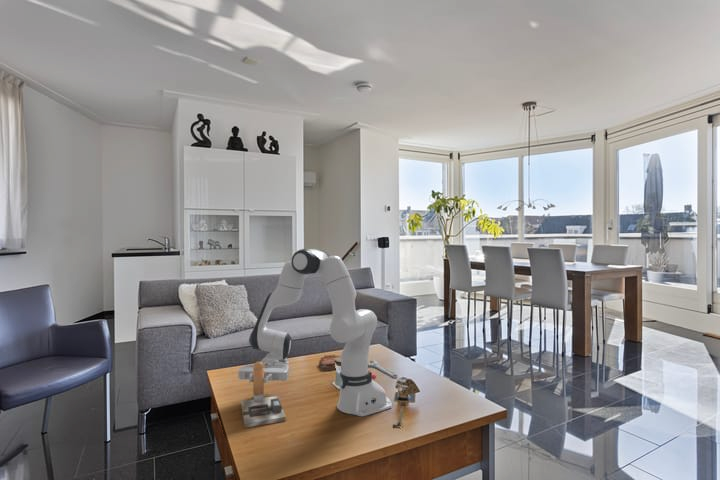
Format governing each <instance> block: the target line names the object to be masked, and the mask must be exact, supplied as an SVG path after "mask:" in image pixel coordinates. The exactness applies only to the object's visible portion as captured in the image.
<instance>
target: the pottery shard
mask: <svg viewBox="0 0 720 480" xmlns="http://www.w3.org/2000/svg"><path fill="white" fill-rule="evenodd" d="M336 357H341V355H336V354H329V355H327V354H326V355H324V356H322V357H321V358H320V360H319V361H318V362H319V364H318V365H319V366H318V367H319V368H320V371H321V372H329V371H334V370H336V369H335V363H334V358H336Z"/></svg>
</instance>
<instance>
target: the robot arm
mask: <svg viewBox="0 0 720 480" xmlns="http://www.w3.org/2000/svg"><path fill="white" fill-rule="evenodd" d="M309 275H311V276H313V275H314V276H315V275H320V276H321V278H322V279H323V282H324V285H325V288H326V290H327V293H328V296H329V299H330V303H331V308H332V320H331V322H330V325H329V334H330V337H331V338H332V339H333V340H334V341H335V342H337V343H339V344H345V345H344V347H343V349H342V351H341V354H340V357H341V369H340V373H339V386H340V387H339V388H340V389H339V397H338V402H337V405H336V407H337V409H338V410H339V411H340V412H342V413H345V414H348V415H354V416H357V417H366V416H369V415H371V414H376V413H379V412H383V411H385V410H386V411H387V410H389V409H391V408H392V407H393V403H392V401H391V400H390V398H389V397H388V396H387V393H386V391H385V389H384V387H382V385H380V384H379V383H377V381H374V380H377V375H376V374H375V373H374V372H373V373H372V372H371V371H370V370H369V366H368V362H369V352H370V347H371V343H372V337H373V334H374V332H375V330H376V328H377V326H378V317H377V314H375V312H374V311H373V310H370V309H366V308H361V309H357V310H356V297H357V295H358V294H357V290H356V288H355V286H354V282H353V280H352V277H351V274H350V272H349V270H348V268H347V266H346V264H345V262H344V260H343V259H342V258H341V257H340V256H338V255H330V254H329V253H327V252H326V251H325V250H321V249H320V250H319V249H316V248H302V249H299V250H297V251H296V252H295V253H293V255H292V257H291V260H288V261H286V262H285V263H284V264H283V267H282V270H281V272H280V276H279V278H278V282H277V286H276V288H275V289H274V290H273V292H269V294H268V295H267V297H266V299H265V300H264V303H263V305H262V307H261V310H260V313H259V315H258V317H257V320H256V322H255V325H254V327H253V328H252V331H251V333H250V335H249V339H248V343H249V345H250V347H251V348H252V349H253V350H257V351H264V352H268V353H267V354H266V355H265V356H264V358H262V359H261V360H260V362H262V363H263V365H264V378H263V383H264V384H266V383H268V382H270V381H274V382H275V381H276V382H277V381H280V382H283V381H284V382H285V381H287V380H288V379H289V377H290V362H289V361H288V359H287V358H288V357H289V356H290V354H291V351H292V347H293V340H292V337H291V335H290V333H289V332H285V331H281V330H278V329H277V330H275V329H271V328H268V327H267V323H268V320H269V318H270V317H271V313H272V311H273V309H275V308H279V307H285V306H291V305H293V304H296V303H297V302H298V301H299V300H300V299H301V296H302V294H303V290H304V285H305V282H306V281H305V280H306V278H307V277H308V276H309ZM253 368H254V364H246V365H244V366H242V367H241V368H240V369H238V372H237V373H238V374H237V376H238V377H237V378H238V379H239V380H248V382H249V383H253Z"/></svg>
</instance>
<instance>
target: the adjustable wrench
mask: <svg viewBox="0 0 720 480" xmlns="http://www.w3.org/2000/svg"><path fill="white" fill-rule="evenodd" d="M368 368H375V369H377V370H379V371H380V372H383V374H385V373H386V375H387V376H389V377H391V378H392V377H393V379H398V378H397V377H399V375H398V374H396V372H392V370H389V369H387V368H385V367H384V366H382V365H380V364H379V362H378V361H377V360H372V359H371V360H370V361H368Z"/></svg>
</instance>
